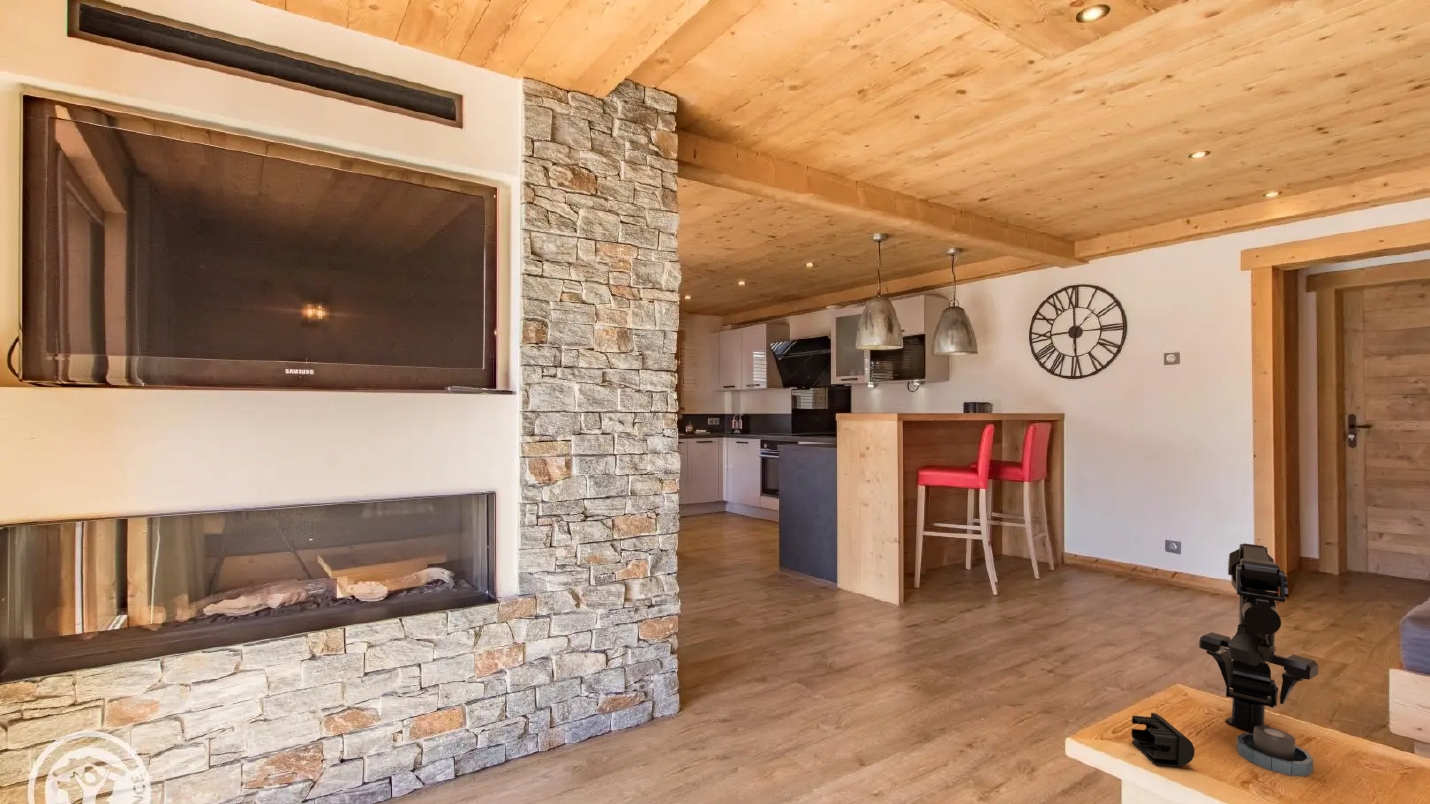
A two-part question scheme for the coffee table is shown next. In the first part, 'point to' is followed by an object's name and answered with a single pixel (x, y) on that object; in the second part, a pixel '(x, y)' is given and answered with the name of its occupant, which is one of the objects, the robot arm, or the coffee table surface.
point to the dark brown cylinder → (1274, 742)
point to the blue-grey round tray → (1293, 768)
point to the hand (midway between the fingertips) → (1254, 694)
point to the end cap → (1161, 742)
